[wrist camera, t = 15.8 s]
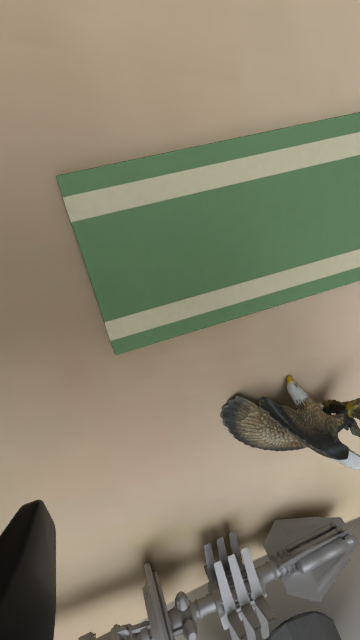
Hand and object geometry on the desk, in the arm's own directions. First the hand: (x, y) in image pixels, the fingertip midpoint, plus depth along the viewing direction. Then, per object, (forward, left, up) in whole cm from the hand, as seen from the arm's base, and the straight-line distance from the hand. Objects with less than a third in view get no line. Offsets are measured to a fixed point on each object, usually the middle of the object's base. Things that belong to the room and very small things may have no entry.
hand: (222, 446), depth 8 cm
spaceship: (-6, -22, -12) cm, 25 cm away
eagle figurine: (+8, -10, -12) cm, 17 cm away
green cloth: (+7, +3, -12) cm, 14 cm away
